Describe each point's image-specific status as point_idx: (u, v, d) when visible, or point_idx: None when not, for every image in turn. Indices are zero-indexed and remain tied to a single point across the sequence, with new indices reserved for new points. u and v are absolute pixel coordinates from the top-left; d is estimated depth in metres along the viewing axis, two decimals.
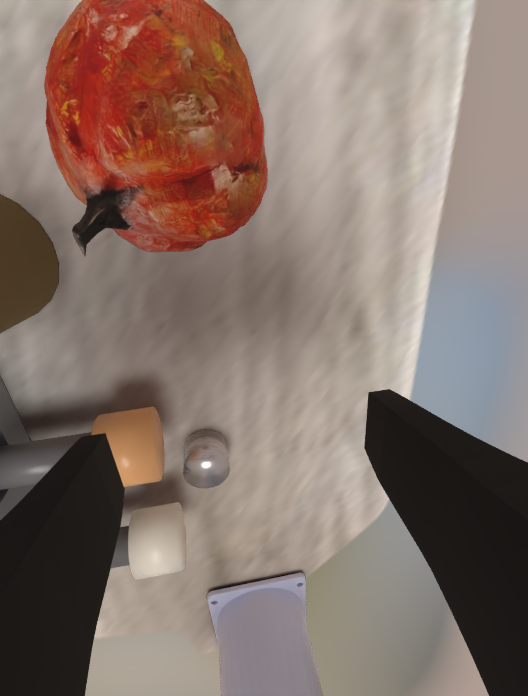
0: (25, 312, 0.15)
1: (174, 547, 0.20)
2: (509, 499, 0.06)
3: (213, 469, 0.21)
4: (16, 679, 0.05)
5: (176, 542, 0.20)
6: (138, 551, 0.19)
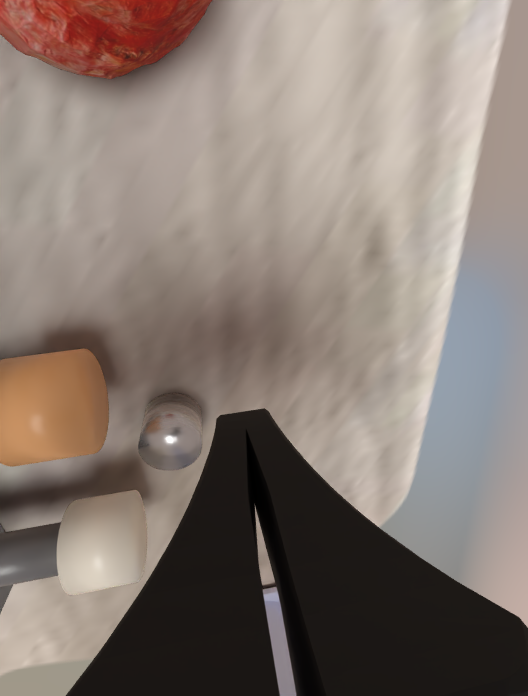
0: None
1: (122, 551, 0.14)
2: (295, 541, 0.05)
3: (179, 443, 0.15)
4: None
5: (125, 543, 0.14)
6: (71, 556, 0.14)
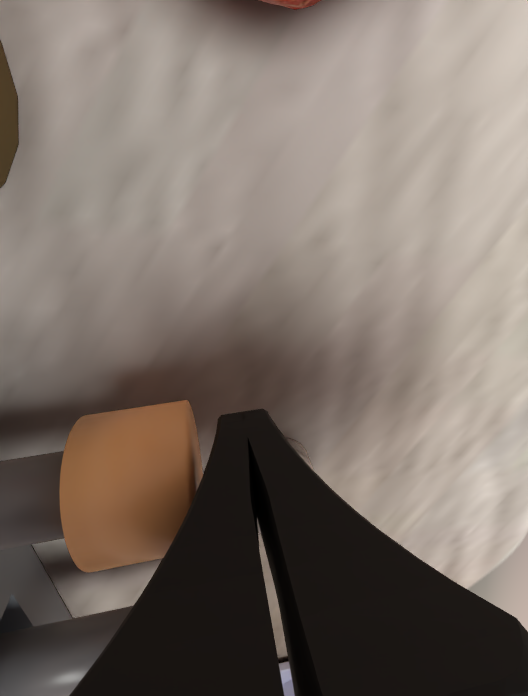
0: None
1: None
2: (293, 542, 0.05)
3: None
4: None
5: None
6: None
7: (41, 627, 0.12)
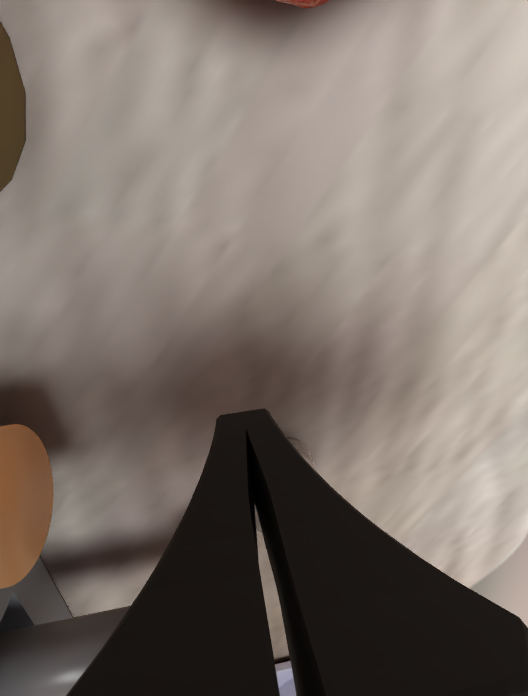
0: None
1: None
2: (296, 542, 0.05)
3: None
4: None
5: None
6: None
7: (43, 626, 0.12)
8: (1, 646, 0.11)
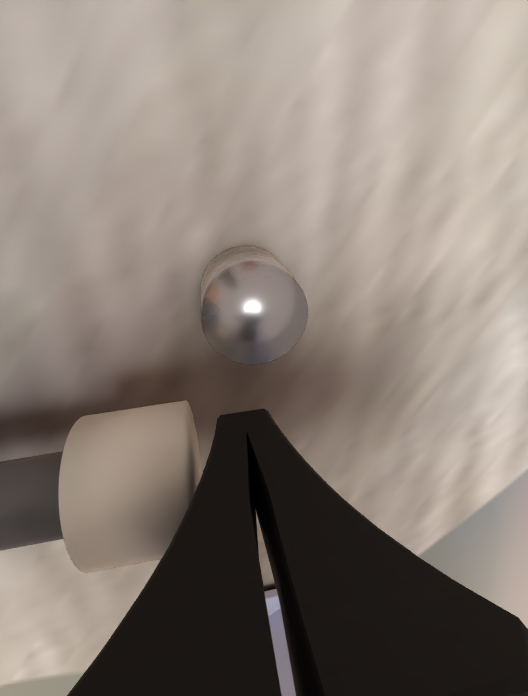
0: None
1: (182, 488, 0.07)
2: (294, 541, 0.05)
3: (270, 311, 0.09)
4: None
5: (185, 476, 0.08)
6: (85, 497, 0.07)
7: None
8: None
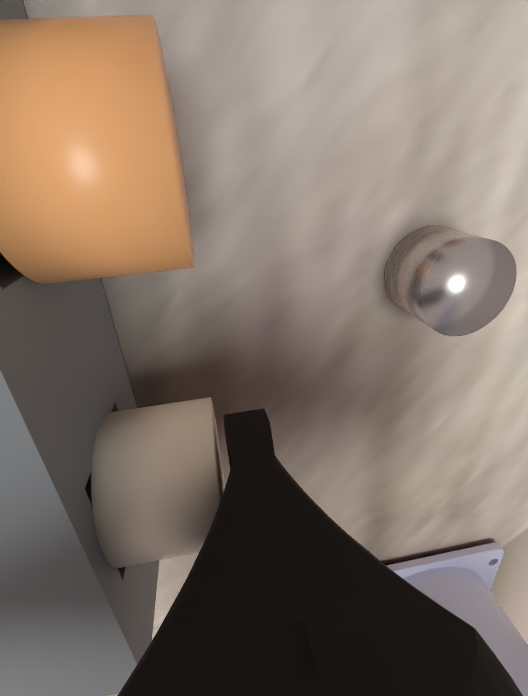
0: None
1: (212, 483, 0.08)
2: (262, 548, 0.05)
3: (483, 284, 0.09)
4: None
5: (215, 471, 0.08)
6: (118, 492, 0.07)
7: None
8: None
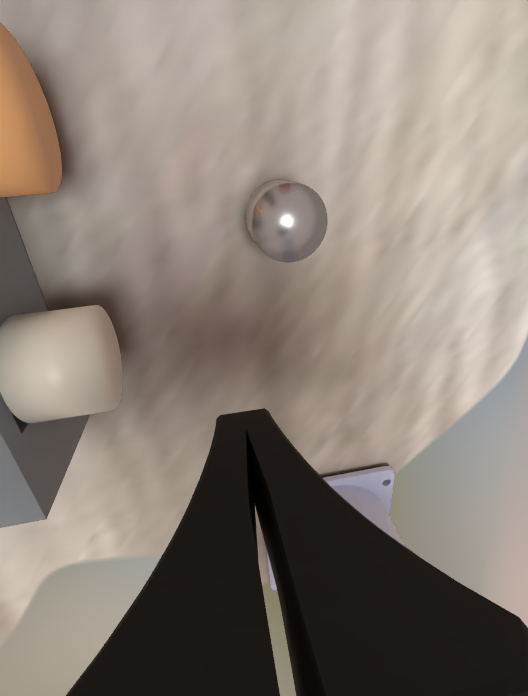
0: None
1: (82, 352, 0.11)
2: (296, 542, 0.05)
3: (301, 219, 0.12)
4: None
5: (86, 345, 0.11)
6: (13, 355, 0.10)
7: None
8: None
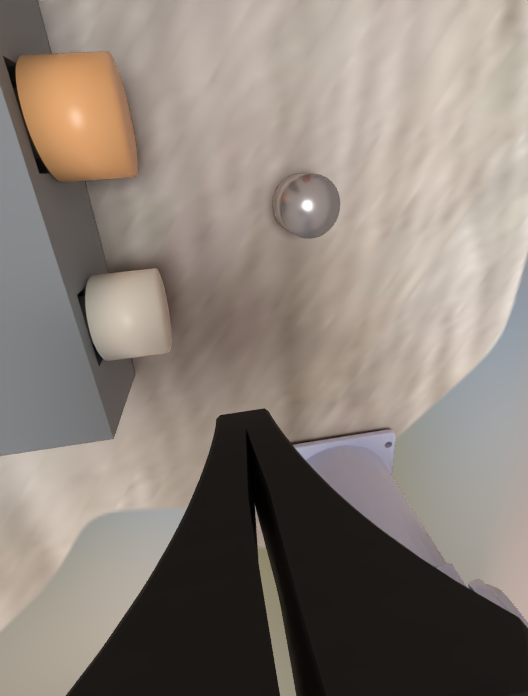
0: None
1: (151, 299, 0.14)
2: (295, 541, 0.05)
3: (319, 203, 0.16)
4: None
5: (154, 295, 0.14)
6: (99, 301, 0.14)
7: None
8: None
